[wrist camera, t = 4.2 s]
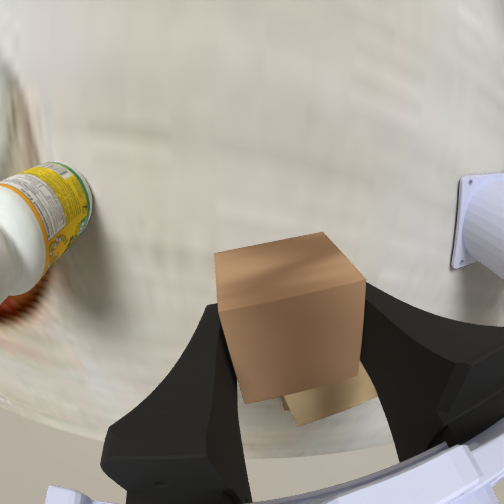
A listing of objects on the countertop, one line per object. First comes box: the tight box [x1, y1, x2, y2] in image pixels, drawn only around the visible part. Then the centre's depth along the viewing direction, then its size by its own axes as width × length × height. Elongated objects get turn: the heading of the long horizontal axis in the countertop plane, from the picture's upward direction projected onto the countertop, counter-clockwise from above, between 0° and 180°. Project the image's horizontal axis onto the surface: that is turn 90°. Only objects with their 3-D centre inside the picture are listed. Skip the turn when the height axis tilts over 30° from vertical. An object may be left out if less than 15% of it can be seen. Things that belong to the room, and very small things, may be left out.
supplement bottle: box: [0, 161, 92, 304], centre depth 12 cm, size 5×5×10 cm
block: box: [214, 232, 366, 404], centre depth 11 cm, size 4×4×4 cm
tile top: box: [284, 362, 378, 426], centre depth 23 cm, size 8×8×2 cm
